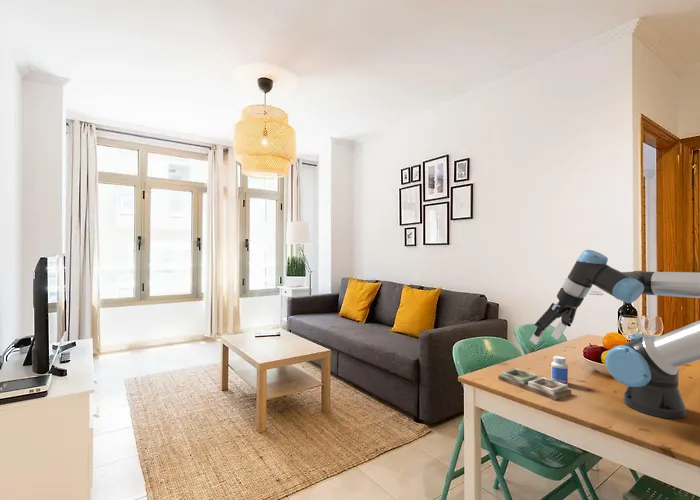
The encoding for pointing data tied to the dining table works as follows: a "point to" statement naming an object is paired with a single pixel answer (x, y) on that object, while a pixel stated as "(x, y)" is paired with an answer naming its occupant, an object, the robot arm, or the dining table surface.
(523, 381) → the board
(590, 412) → the dining table surface
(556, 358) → the pill bottle
